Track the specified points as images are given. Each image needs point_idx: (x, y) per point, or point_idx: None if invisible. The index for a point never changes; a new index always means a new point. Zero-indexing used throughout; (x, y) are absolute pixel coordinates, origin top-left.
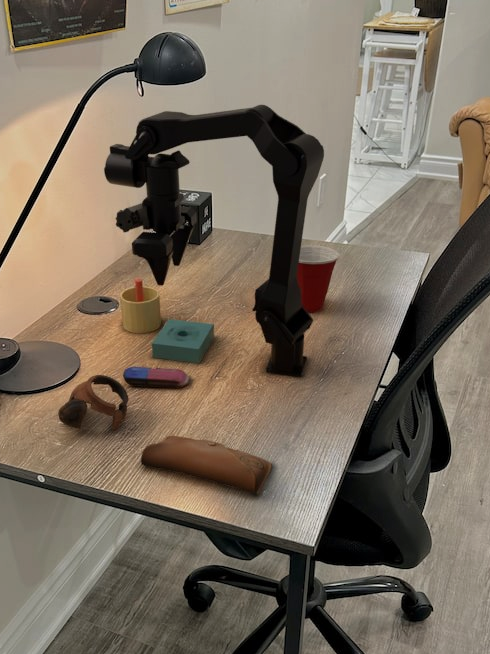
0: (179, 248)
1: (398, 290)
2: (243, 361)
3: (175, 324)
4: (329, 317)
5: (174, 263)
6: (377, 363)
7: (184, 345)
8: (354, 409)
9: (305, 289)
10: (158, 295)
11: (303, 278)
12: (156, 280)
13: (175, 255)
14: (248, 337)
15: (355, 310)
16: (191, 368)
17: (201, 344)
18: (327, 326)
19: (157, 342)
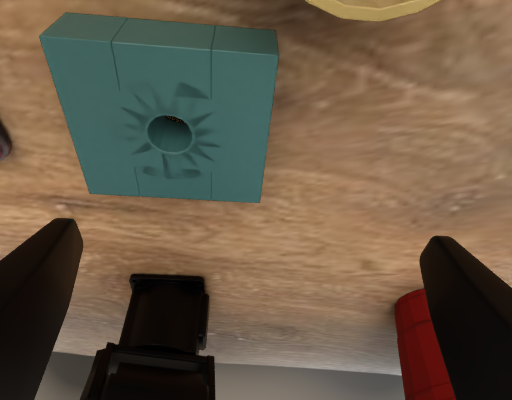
0: (482, 396)
1: None
2: (159, 239)
3: (231, 93)
4: (371, 324)
5: (436, 252)
6: (220, 361)
7: (88, 155)
8: (86, 350)
9: (405, 356)
10: (374, 18)
11: (412, 384)
12: (22, 249)
13: (464, 315)
14: (275, 234)
15: (396, 344)
16: (69, 148)
17: (120, 195)
18: (335, 323)
19: (58, 59)
